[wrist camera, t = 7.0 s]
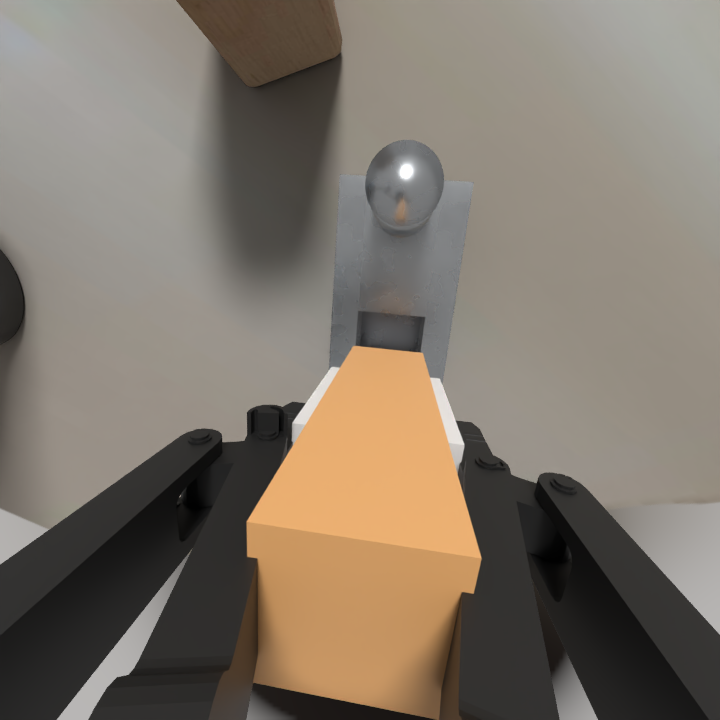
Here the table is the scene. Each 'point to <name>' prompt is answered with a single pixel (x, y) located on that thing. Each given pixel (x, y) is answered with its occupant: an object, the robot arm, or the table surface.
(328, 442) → the orange square bar
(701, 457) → the table surface
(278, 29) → the wooden block
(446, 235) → the grey slotted stand
